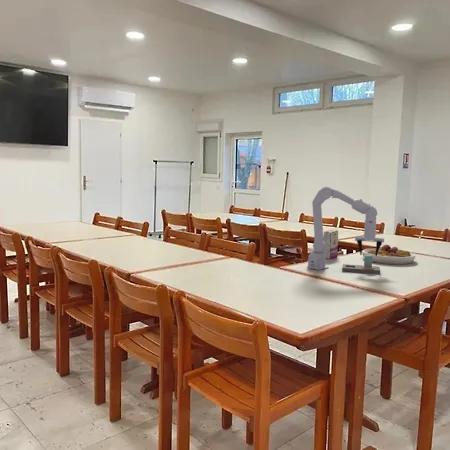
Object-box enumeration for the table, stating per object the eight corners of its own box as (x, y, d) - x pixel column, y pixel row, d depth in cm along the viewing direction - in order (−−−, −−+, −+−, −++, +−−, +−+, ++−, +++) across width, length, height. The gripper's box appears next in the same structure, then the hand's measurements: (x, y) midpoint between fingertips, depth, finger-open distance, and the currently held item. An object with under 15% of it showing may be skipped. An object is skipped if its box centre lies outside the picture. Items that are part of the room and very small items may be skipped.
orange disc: (370, 269, 234) (370, 269, 234) (358, 267, 239) (358, 266, 239) (377, 267, 239) (377, 267, 239) (365, 265, 244) (365, 265, 244)
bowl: (420, 267, 254) (420, 253, 253) (364, 264, 260) (365, 250, 259) (409, 257, 283) (410, 244, 282) (359, 254, 289) (360, 242, 288)
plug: (369, 268, 236) (369, 257, 236) (362, 266, 239) (363, 255, 239) (373, 267, 239) (374, 256, 238) (366, 266, 242) (367, 254, 241)
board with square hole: (342, 271, 238) (342, 267, 238) (342, 267, 248) (342, 264, 247) (380, 274, 233) (380, 270, 233) (379, 270, 243) (379, 266, 242)
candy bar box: (330, 255, 282) (331, 229, 280) (337, 256, 279) (338, 230, 277) (322, 258, 274) (323, 231, 272) (330, 259, 270) (331, 232, 268)
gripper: (355, 229, 235) (354, 255, 236) (385, 231, 231) (383, 257, 233) (355, 228, 242) (354, 253, 243) (384, 229, 238) (382, 254, 239)
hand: (368, 255), depth 238 cm, fingers open, 7 cm apart
